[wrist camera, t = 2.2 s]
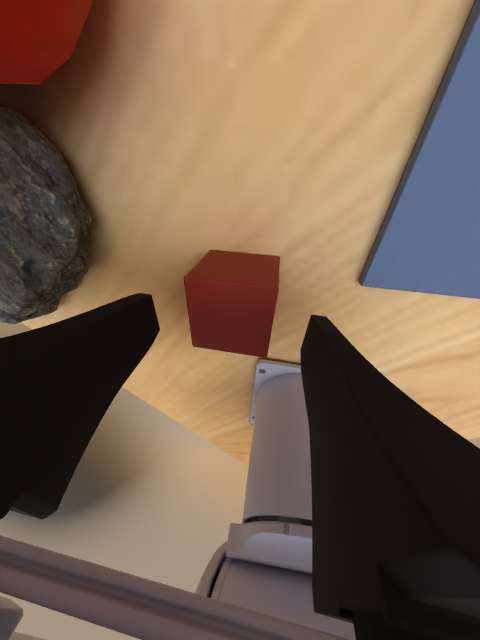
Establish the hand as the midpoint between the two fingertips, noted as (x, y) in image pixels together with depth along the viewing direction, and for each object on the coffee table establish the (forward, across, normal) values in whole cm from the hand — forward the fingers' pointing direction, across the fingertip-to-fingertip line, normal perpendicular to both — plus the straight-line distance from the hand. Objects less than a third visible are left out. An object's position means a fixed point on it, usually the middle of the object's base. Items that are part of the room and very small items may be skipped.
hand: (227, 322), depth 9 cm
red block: (+4, 0, 0) cm, 4 cm away
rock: (+5, +13, -2) cm, 14 cm away
